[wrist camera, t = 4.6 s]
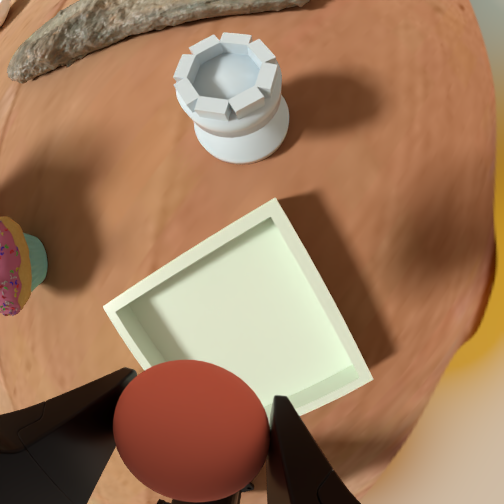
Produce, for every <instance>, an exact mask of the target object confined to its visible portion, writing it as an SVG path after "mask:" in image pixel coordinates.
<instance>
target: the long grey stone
mask: <svg viewBox="0 0 504 504" xmlns="http://www.w3.org/2000/svg"><path fill="white" fill-rule="evenodd" d="M309 1H310V0H79V1H77V2H76V3H74V4H72V5H70V6H69V7H67V8H65V9H64V10H60V11H59V12H58V14H57V15H56V16H55V17H54V18H52V19H50V20H49V21H48V22H46V23H45V24H44V25H43V26H42V27H40V28H39V29H38V30H37V31H36V32H34V33H33V34H32V35H31V36H30V37H29V38H28V39H27V40H26V41H25V42H24V43H23V44H22V45H20V47H19V48H18V49H17V51H16V52H15V54H14V55H13V57H12V59H11V61H10V63H9V66H8V69H7V73H8V77H9V78H10V79H11V80H12V81H18V82H19V83H21V84H23V83H26V82H27V81H28V80H30V79H33V78H35V77H37V76H39V75H42V74H45V73H47V72H49V71H51V70H54V69H56V68H57V67H58V66H60V65H61V66H64V65H65V64H66V65H67V67H69V66H70V65H71V64H72V63H73V62H74V61H75V60H77V59H82V58H83V57H84V56H85V55H86V54H87V53H90V52H92V51H95V50H98V49H101V48H103V47H106V46H109V45H111V44H112V43H116V42H118V41H120V40H121V39H124V38H125V37H127V36H129V35H132V34H140V33H144V32H148V31H151V30H153V29H155V30H161V29H164V28H165V27H167V26H169V25H170V26H171V25H172V26H176V25H178V24H182V23H184V22H188V21H193V20H199V19H204V18H211V17H218V16H227V15H236V14H251V13H256V12H264V11H269V10H274V11H279V10H282V9H283V8H290V7H295V6H299V7H302V6H303V5H304V4H306V3H307V2H309Z"/></svg>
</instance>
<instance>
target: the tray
mask: <svg viewBox="0 0 504 504" xmlns="http://www.w3.org/2000/svg"><path fill="white" fill-rule="evenodd" d="M103 308H104V310H105V311H106V313H107V315H108V316H109V318H110V320H111V321H112V323H113V325H114V326H115V328H116V329H117V331H118V333H119V334H120V336H121V337H122V339H123V340H124V342H125V343H126V345H127V346H128V348H129V349H130V351H131V352H132V354H133V355H134V357H135V358H136V360H137V361H138V362H139V364H140V365H141V367H142V368H143V369H144V371H145V370H147V369H148V368H150V367H152V366H155V365H157V364H160V363H164V362H168V361H174V360H198V361H204V362H208V363H212V364H214V365H217V366H220V367H222V368H224V369H226V370H228V371H230V372H232V373H233V374H235V375H236V376H238V377H239V378H241V379H242V380H243V381H244V382H245V383H246V384H247V385H248V386H249V387H250V388H251V389H252V390H253V391H254V392H255V394H256V395H257V396H258V398H259V399H260V401H261V403H262V405H263V407H264V409H265V411H266V414H267V417H268V421H269V422H270V414H271V408H272V403H273V398H274V396H275V395H282V396H287V397H288V398H289V400H290V402H291V403H292V405H293V406H294V408H295V410H296V411H297V413H298V415H299V416H301V415H303V414H305V413H308V412H310V411H312V410H315V409H317V408H319V407H321V406H323V405H325V404H328V403H330V402H332V401H334V400H336V399H338V398H340V397H342V396H344V395H346V394H348V393H350V392H351V391H353V390H355V389H357V388H359V387H361V386H363V385H364V384H366V383H368V382H370V381H371V380H373V378H372V376H371V373H370V371H369V369H368V367H367V365H366V363H365V361H364V359H363V357H362V355H361V353H360V351H359V349H358V347H357V345H356V343H355V341H354V339H353V337H352V335H351V333H350V331H349V329H348V327H347V325H346V323H345V321H344V319H343V317H342V315H341V313H340V312H339V310H338V308H337V306H336V304H335V302H334V300H333V298H332V296H331V295H330V293H329V291H328V289H327V287H326V285H325V283H324V282H323V280H322V278H321V276H320V274H319V272H318V271H317V269H316V267H315V265H314V263H313V262H312V260H311V258H310V256H309V254H308V253H307V251H306V249H305V247H304V246H303V244H302V242H301V240H300V239H299V237H298V235H297V233H296V232H295V230H294V228H293V226H292V225H291V223H290V221H289V220H288V218H287V216H286V215H285V213H284V211H283V209H282V208H281V206H280V204H279V203H278V201H277V199H276V198H274V199H272V200H270V201H268V202H267V203H265V204H263V205H262V206H260V207H258V208H257V209H255V210H253V211H252V212H250V213H248V214H247V215H245V216H243V217H242V218H240V219H238V220H237V221H235V222H233V223H232V224H230V225H228V226H227V227H225V228H223V229H222V230H220V231H219V232H217V233H215V234H214V235H212V236H210V237H209V238H207V239H206V240H204V241H202V242H201V243H199V244H198V245H196V246H194V247H193V248H191V249H190V250H188V251H186V252H185V253H183V254H182V255H180V256H179V257H177V258H175V259H174V260H172V261H171V262H169V263H168V264H166V265H165V266H163V267H161V268H160V269H158V270H157V271H155V272H154V273H152V274H151V275H149V276H148V277H146V278H145V279H143V280H142V281H140V282H139V283H137V284H136V285H134V286H133V287H131V288H129V289H128V290H127V291H125V292H124V293H122V294H121V295H119V296H118V297H116V298H115V299H113V300H112V301H110V302H109V303H107V304H106V305H104V306H103Z"/></svg>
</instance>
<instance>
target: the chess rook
mask: <svg viewBox="0 0 504 504" xmlns="http://www.w3.org/2000/svg"><path fill="white" fill-rule="evenodd" d="M189 49H190V51H191V53H192V55H189V54H183V55H182V57H181V59H180V62H179V64H178V66H177V69H176V71H175V74H174V76H173V78H174V79H175V80H176V84H174V86H175V88H176V94H177V98H178V101H179V103H180V105H181V107H182V108H183V109H184V111H185V112H186V113H187V114H188V115H189V117H190V118H191V119H192V120H193V121H194V128H195V132H196V135H197V138H198V140H199V141H200V143H201V144H202V146H203V147H204V148H205V149H206V150H207V151H208V152H209V153H210V154H211V155H213V156H214V157H216V158H217V159H219V160H221V161H223V162H226V163H230V164H236V165H245V164H252V163H256V162H259V161H261V160H263V159H265V158H267V157H269V156H270V155H272V154H273V153H274V152H275V151H276V150H277V149H278V148H279V147H280V146H281V144H282V143H283V141H284V139H285V137H286V134H287V131H288V125H289V110H288V106H287V103H286V101H285V99H284V98H283V96H282V95H281V85H282V75H281V69H280V66H279V64H278V62H277V60H276V57H275V56H274V55H273V53H272V52H271V51H270V50H269V49H268V48H267V47H266V46H265V44H264V43H263V42H262V41H261V40H260V39H258V40H256V41H254V42H252V35H245V34H236V33H224V32H223V35H222V37H221V39H220V41H219V40H218V38H217V37H216V36H215V35H212V36H210V37H208V38H206V39H204V40H202V41H200V42H198V43H197V44H195V45H193V46H191V47H189Z"/></svg>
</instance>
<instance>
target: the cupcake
mask: <svg viewBox="0 0 504 504" xmlns="http://www.w3.org/2000/svg"><path fill="white" fill-rule="evenodd" d="M47 267H48V262H47V255H46V251H45V248H44V246H43V244H42V243H41V241H40V240H39V239H38V238H37V237H35V236H32V235H29V234H26V233H23V231H22V229H21V227H20V225H19V224H18V223H16V222H15V221H13V220H12V219H11V218H10V217H8V216H1V217H0V313H3V315H4V316H8V315H12V316H14V315H16V314H18V313H19V312H20V310H22V308H23V307H24V305H25V304H26V302H27V301H28V299H29V297H30V295H31V292H32V291H33V290H34V289H35V288H36V287H37V286H38V285H39V284H41V283H42V282H43V280H44V279H45V277H46V274H47Z"/></svg>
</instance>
